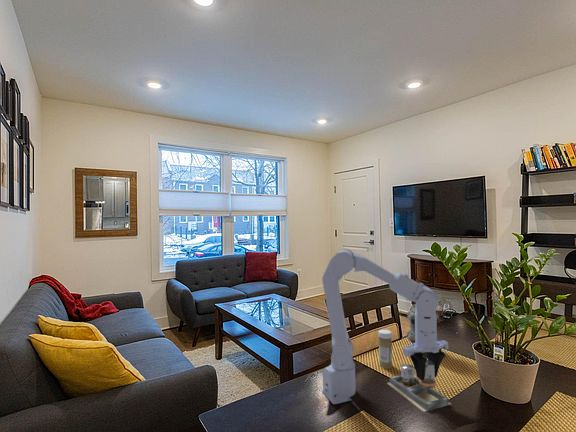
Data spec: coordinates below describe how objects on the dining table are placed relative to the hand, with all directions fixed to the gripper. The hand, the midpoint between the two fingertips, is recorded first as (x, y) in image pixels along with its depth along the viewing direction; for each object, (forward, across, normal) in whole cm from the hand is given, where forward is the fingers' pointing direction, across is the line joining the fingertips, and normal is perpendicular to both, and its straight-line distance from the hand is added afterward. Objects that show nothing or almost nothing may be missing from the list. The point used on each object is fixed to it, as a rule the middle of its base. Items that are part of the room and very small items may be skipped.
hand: (426, 376), depth 91 cm
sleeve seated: (+7, 0, +8) cm, 10 cm away
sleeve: (+2, 0, 0) cm, 2 cm away
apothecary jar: (+8, +25, +29) cm, 39 cm away
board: (+8, 0, +4) cm, 9 cm away
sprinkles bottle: (+8, +2, +22) cm, 23 cm away
